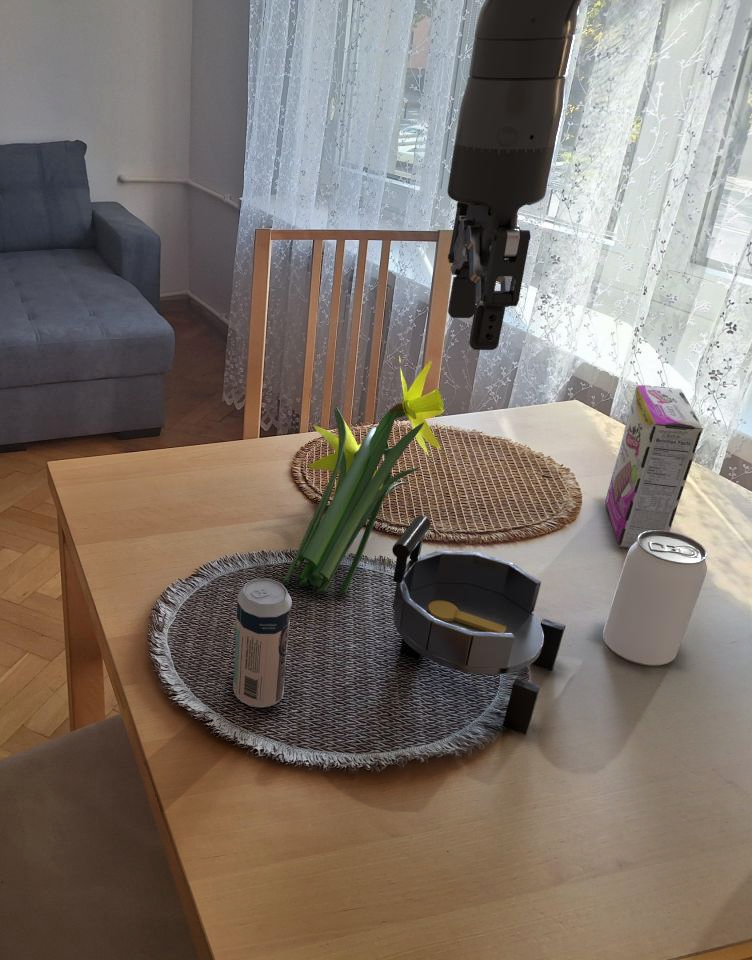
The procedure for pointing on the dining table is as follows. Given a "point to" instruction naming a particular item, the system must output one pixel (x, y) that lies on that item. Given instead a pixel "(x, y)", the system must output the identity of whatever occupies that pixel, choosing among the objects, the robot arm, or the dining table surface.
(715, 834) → the dining table surface
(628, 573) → the can
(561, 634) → the bowl stand
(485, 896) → the dining table surface
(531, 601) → the bowl
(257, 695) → the beer can
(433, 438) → the daffodil flowers
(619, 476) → the candy bar box
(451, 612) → the spoon
